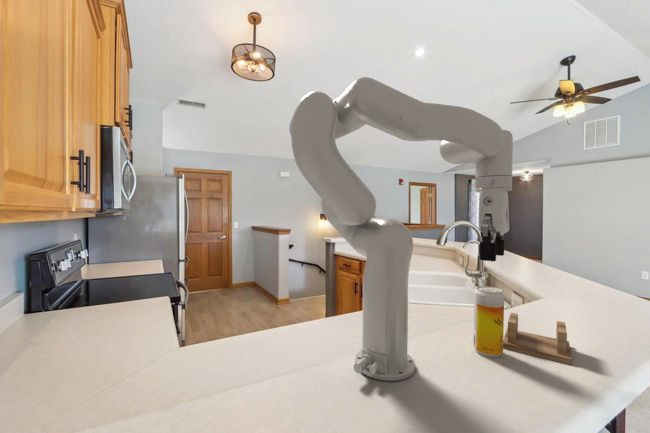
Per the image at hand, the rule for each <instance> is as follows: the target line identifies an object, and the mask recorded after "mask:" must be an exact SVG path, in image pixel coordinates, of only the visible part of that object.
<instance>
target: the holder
mask: <svg viewBox="0 0 650 433" xmlns="http://www.w3.org/2000/svg"><path fill="white" fill-rule="evenodd" d="M508 317H509V318H508V321H507V329H506V331H505V335H504V336H503V350H504V349H506V350H509V351H513V352H518V353H521V354H525V355H529V356H532V357H533V356H534V357H537V358H543V359H546V360H550V361H554V362H558V363H563V364H566V365H570V366H572V365H573V358H572V352H571V347H570V341H568V331H567V326H566V322H565V321H561V320H560V321H559V320H556V334H555V336H556V338H554V337H550V336H546V335H540V334H535V333H531V332H526V331H521V330H519V314H518V313H515V312H510V315H509V316H508Z"/></svg>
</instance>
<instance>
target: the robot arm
mask: <svg viewBox="0 0 650 433" xmlns="http://www.w3.org/2000/svg"><path fill="white" fill-rule="evenodd" d="M365 125H367V126H369V127H371V128H374V129H377V130H380V131H381V132H384V133H385V134H388V135H390V136H393V137H396V138H397V139H400V140H401V141H406V142H427V141H438V142H439V141H440V142H441V143H440V146H439V153H440V154H439V155H441V158H442V159H443V160H444V161H445V162H447V163H449V164H453V165H461V164H462V165H463V164H470V163H471V164H472V163H474V164H475V170H474V171H475V181H474V182H475V183H474V184H475V187H474V190H475V192H474V193H479V195H478V196H479V198H478V214H477V215H478V224H477V225H478V231H479V233H480V238H479V260H480V261H484V262H485V261H487V262H496V261H497V256H501V257H502V256H504V255H505V239H504V238H505V234H506V233H508V232H510V214H509V213H510V212H509V211H510V209H509V206H510V205H509V204H510V202H509V194H508V192H512V191H513V155H514V154H513V152H514V151H513V147H514V145H513V143H514V137H513V133H512V132H511V131H509V130H506V129H502V127H501V126H500V125H499V124H498V123H497V122H496V121H494V120H493V119H491V118H490V117H488V116H486V115H484V114H482V113H480V112H478V111H475V110H473V109H470V108H469V107H468V108H467V107H462V106H458V105H451V104H450V105H448V104H443V103H432V102H431V103H430V102H423V101H421V100H418V99H417V98H414V97H412V96H410V95H408V94H406V93H404V92H402V91H400V90H397V89H395V88H393V87H391V86H389V85H388V84H385V83H383V82H381V81H379V80H376V79H374V78H372V77H368V76H362V77H360V78H357V79H355V80H354V81H353V82H352V83H351V84H350V85H349V86H348V87H346V89H345V90H344V92H343V93H342V94H341V95H340V96H339V97H337V98H335V99H332V97H330V95H328V94H327V93H325V92H322V91H318V90H317V91H311V92H308V93H307V94H306V95H304V96H303V97H302V98H301V99H300V100H299V102H298V104H297V106H296V107H295V110H294V113H293V115H292V118H291V120H290V123H289V134H290V138H291V148H292V154H293V157H294V160H295V163H296V165H297V168H298V170H299V172H300V173H301V175H302V176H303V178H304V179H305V180H306V181H307V183H308V184H309V186H311V187H312V189H313V190H314V191H315V192H316V194H317V195H318V197H320V199H321V202H320V205H321V209H322V213H323V214H324V217H325V218H326V220H327V221H328V222H329V224H331V226H332V227H333V228H334V229H335V230H336V231H337V232H338V233H339V235H340V236H341V237H342V238H343V239H344V240H345V241H346V243H348V244H349V246H350V247H351V248H352V249H353V250H354V251H355V252H356V253H358V254H360V255H362V256H364V257H366V260H365V265H364V270H363V277H362V349H361V350H359V351H358V352H357V353H356V354H355V358H354V361H355V362H354V364H353V369H354V372H355V373H357V374H364V375H366V376H367V377H369V378H372V379H375V380H378V381H386V382H397V381H402V380H405V379H407V378H409V377H411V376H412V375H413V374H414V373H415V370H416V363H415V360H414V358H412V356H411V355H410V354H408V345H409V344H408V343H409V342H408V340H409V338H408V333H409V332H408V331H409V329H408V327H409V326H408V325H409V324H408V323H409V322H408V321H409V316H408V315H409V274H410V273H409V272H410V266H411V260H412V258H413V257H412V256H413V252H414V251H413V250H414V241H413V240H414V239H413V236H412V235H413V234H412V233H411V231H410V230H409V228H408V227H407V226H406V225H405V224H404V223H402V222H401V221H399V220H397V219H393V218H384V217H377V216H376V215H375V214H376V211H377V201H376V198H375V195H374V194H373V193H372V190H371V189H370V188H369V187H368V186H367V185H366V184H365V183H364V182H363V180H362V179H361V178H360V177H359V176H358V174H356V172H355V171H354V170H353V169H352V168H351V166H350V165H349V164H348V163H347V161H346V160H345V159H344V157H343V156H342V154H341V152H340V151H339V149H338V146H337V141H336V140H337V139H339V138H342V137H345V136H346V135H349V134H351V133H354V132H355V131H358V130H359V129H361V128H363V127H364V126H365Z"/></svg>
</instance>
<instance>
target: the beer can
mask: <svg viewBox="0 0 650 433" xmlns="http://www.w3.org/2000/svg"><path fill="white" fill-rule="evenodd" d="M473 295H474V300H473V301H474V303H473V304H474V307H473V349H475V351H476V353H478V354H479V355H482V356H484V357H487V358H491V359H492V358H500V356H501V355H502V354H503V353H504V348H503V340H504V328H505V327H504V325H505V324H504V323H505V322H504V321H505V320H504V319H505V318H504V317H505V316H504V315H505V314H504V313H505V295H504V292H503V290H502V289H501V288H497V287H494V286H487V285H486V286H484V285H483V286H482V285H480V286H476V288H475V290H474V294H473Z"/></svg>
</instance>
